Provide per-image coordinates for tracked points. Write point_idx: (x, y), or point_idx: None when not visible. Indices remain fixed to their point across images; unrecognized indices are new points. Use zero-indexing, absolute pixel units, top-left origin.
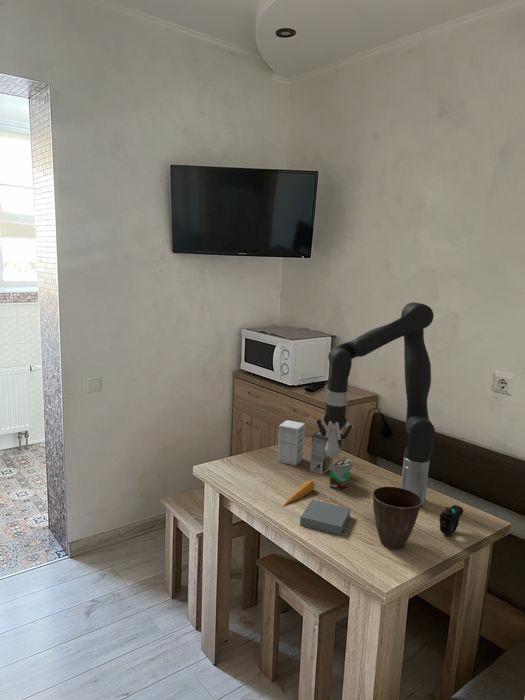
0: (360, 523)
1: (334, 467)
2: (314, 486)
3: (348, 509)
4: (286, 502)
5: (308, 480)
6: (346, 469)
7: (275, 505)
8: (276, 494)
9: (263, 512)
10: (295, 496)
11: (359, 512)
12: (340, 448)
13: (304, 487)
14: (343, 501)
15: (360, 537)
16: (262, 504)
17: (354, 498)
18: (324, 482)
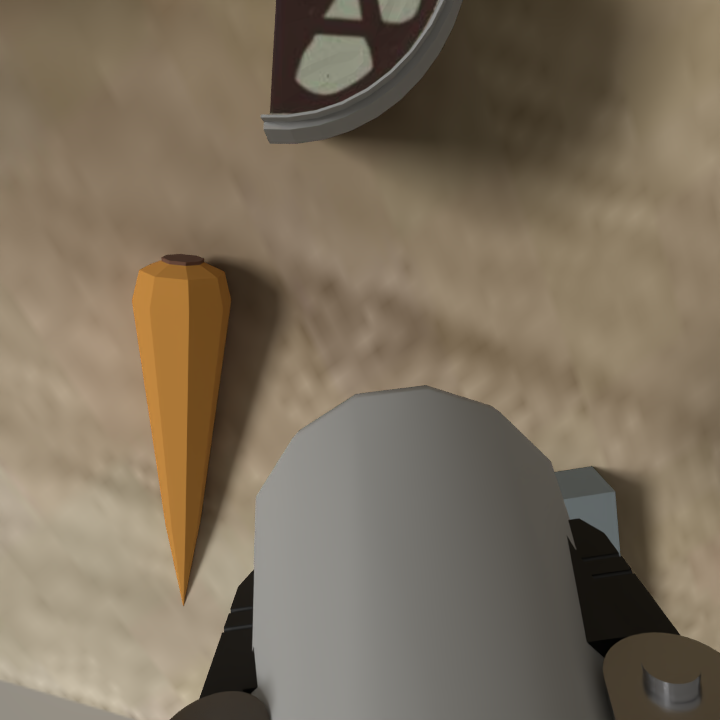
0: (677, 507)
1: (322, 126)
2: (222, 281)
3: (607, 513)
4: (180, 570)
5: (153, 291)
6: (443, 37)
7: (141, 614)
8: (53, 488)
9: (138, 716)
10: (191, 499)
11: (634, 378)
12: (555, 477)
13: (186, 397)
14: (483, 293)
15: (716, 643)
16: (73, 647)
17: (539, 191)
18: (217, 60)
